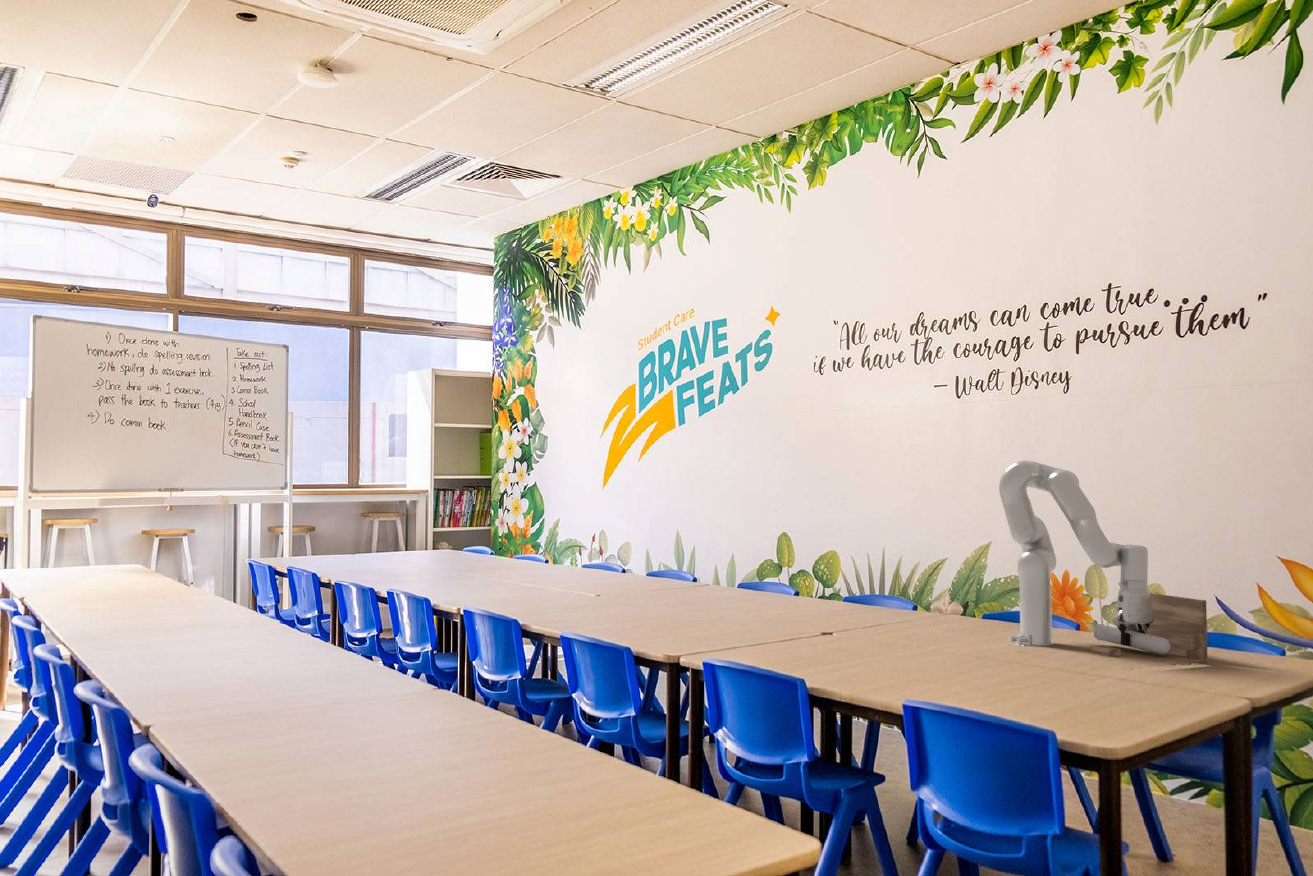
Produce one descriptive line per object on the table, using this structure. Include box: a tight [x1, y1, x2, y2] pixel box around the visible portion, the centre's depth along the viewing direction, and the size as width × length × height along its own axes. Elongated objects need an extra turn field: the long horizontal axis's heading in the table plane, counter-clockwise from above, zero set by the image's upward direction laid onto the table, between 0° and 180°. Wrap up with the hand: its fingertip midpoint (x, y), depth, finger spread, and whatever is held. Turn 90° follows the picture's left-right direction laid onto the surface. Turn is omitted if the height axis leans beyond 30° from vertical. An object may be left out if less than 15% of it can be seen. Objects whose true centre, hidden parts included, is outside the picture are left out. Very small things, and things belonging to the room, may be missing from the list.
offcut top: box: [1090, 644, 1121, 657], centre depth 303 cm, size 4×8×2 cm, turn 16°
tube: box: [1093, 623, 1171, 655], centre depth 308 cm, size 5×5×25 cm
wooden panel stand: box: [1124, 592, 1208, 661], centre depth 310 cm, size 6×28×18 cm, turn 19°
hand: (1132, 644), depth 307 cm, fingers closed on tube, 5 cm apart
